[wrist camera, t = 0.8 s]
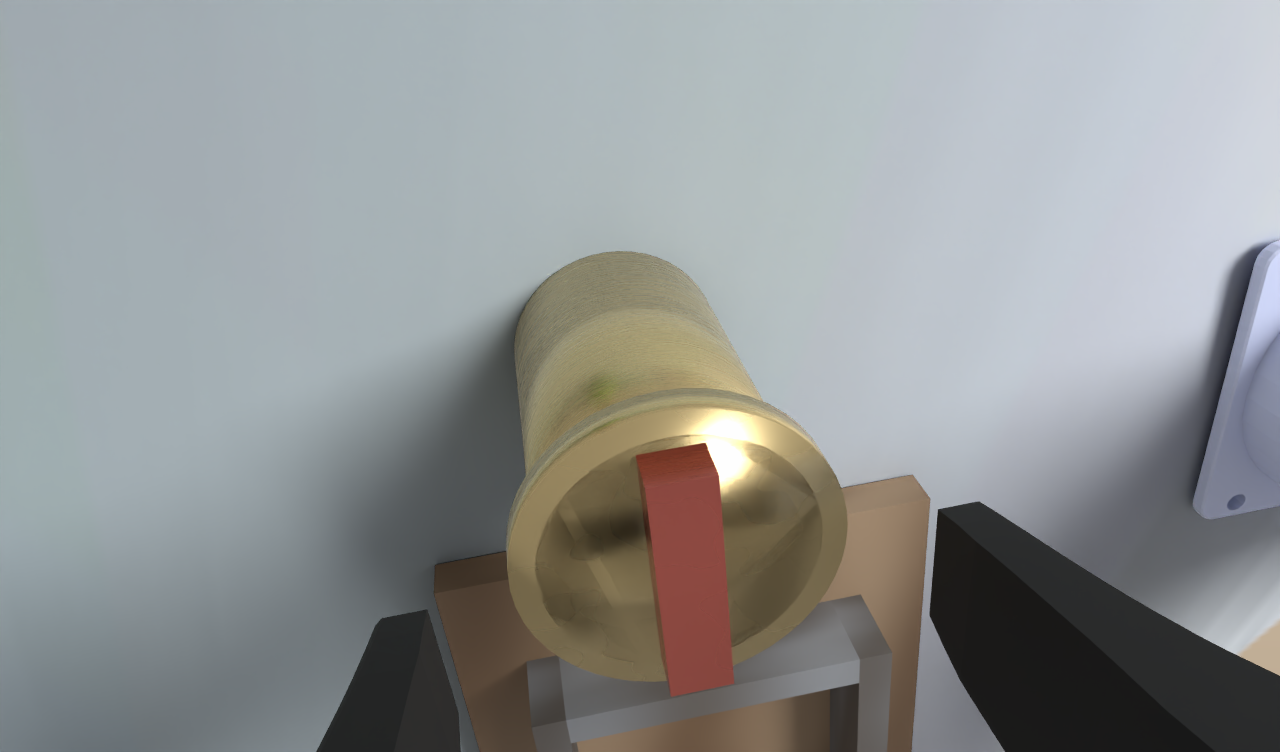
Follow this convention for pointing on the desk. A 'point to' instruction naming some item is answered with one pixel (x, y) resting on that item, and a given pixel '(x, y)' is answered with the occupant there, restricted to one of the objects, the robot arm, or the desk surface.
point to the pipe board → (763, 685)
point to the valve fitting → (658, 484)
